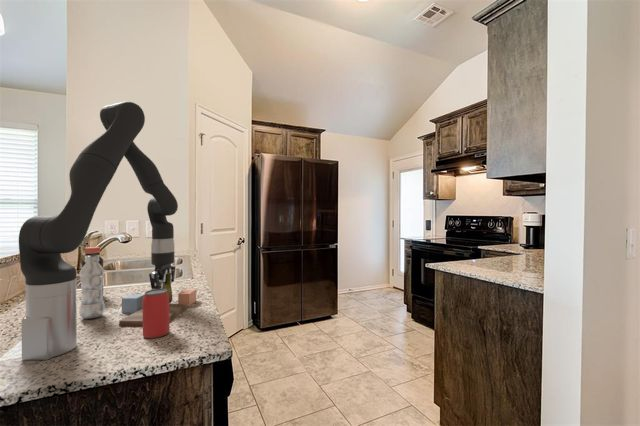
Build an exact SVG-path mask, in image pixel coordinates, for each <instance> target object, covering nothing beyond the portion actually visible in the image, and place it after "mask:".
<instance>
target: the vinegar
mask: <svg viewBox="0 0 640 426" xmlns="http://www.w3.org/2000/svg"><path fill="white" fill-rule="evenodd" d="M100 253H101V246H89V247H84V256H88V255H99V261H98V263H99V264H100V265H101V266H102V267H103V268H104V259H103V258H102V256H100ZM85 264H86V262H85V257H84V258H83V259H82V260H81V268H82V267H83V266H84V265H85ZM102 288H103V289H102V292H103V293H104V286H103V287H102Z"/></svg>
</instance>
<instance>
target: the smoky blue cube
mask: <svg viewBox="0 0 640 426" xmlns="http://www.w3.org/2000/svg"><path fill="white" fill-rule="evenodd" d="M144 295H145V293H142V294H141V293H138V294H137V293H134V294H133V293H131V294H129V295H127V296H124V297H122V298H121V313H122V314H133V313H135V312H137V311H138V310H140V309H142V308H143V297H144Z"/></svg>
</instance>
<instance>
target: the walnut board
mask: <svg viewBox="0 0 640 426" xmlns="http://www.w3.org/2000/svg"><path fill="white" fill-rule="evenodd" d="M187 309H188V306H187V304H178V303H170V304H169V322H170V321H172V319H174V318H176V317H178V316H179V315H180V314H181V313H183V312H184V311H185V310H187ZM118 326H120V327H139V326H140V327H143V308H142V309H140V310H138V311H137V312H135V313H130V314H129V315H127V316H126V317H124V318H122V319H120V320H119V321H118Z"/></svg>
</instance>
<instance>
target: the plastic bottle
mask: <svg viewBox="0 0 640 426" xmlns="http://www.w3.org/2000/svg"><path fill="white" fill-rule="evenodd" d="M99 256H100V254H99V255H88V256H86V255H84V258H85V262H86V264H85V265H84V266H83V267H82V266H81V269H80V271H79V280H80V284H81V285H80V287H81V300H80V302H81V303H80V307H79V315H80V317H81V318H82V319H85V320H87V319H96V318H99V317H101V316H103V315H104V313H105V310H106V305H105V301H104V291H103V292H102V289H103V290H104V278H105V277H104V276H105V270H104V266H103V267H102V266H101V265H100V264H99V263H98V261H99ZM102 287H103V288H102Z"/></svg>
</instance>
